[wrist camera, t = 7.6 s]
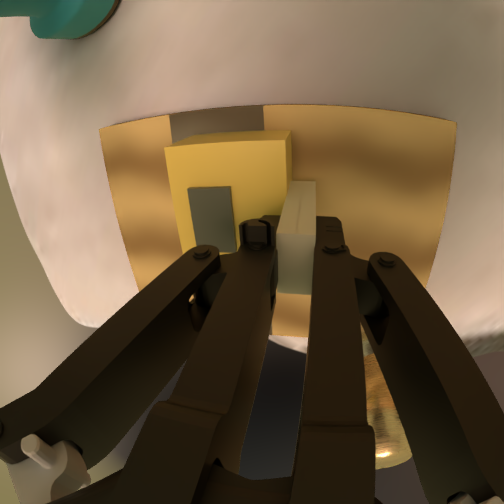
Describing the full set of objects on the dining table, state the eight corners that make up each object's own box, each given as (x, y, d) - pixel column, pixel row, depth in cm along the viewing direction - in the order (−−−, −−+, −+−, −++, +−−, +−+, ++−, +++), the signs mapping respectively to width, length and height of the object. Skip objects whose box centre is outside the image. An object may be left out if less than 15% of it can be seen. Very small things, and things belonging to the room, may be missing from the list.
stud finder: (193, 135, 17) (161, 148, 13) (290, 130, 16) (284, 141, 12) (208, 246, 21) (186, 282, 17) (292, 250, 20) (286, 289, 16)
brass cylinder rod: (353, 301, 21) (361, 453, 11) (394, 302, 20) (421, 447, 10) (346, 332, 23) (347, 470, 13) (384, 333, 22) (399, 466, 12)
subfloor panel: (114, 124, 19) (98, 129, 17) (444, 119, 14) (456, 122, 13) (157, 306, 28) (149, 319, 27) (402, 323, 24) (406, 339, 22)
